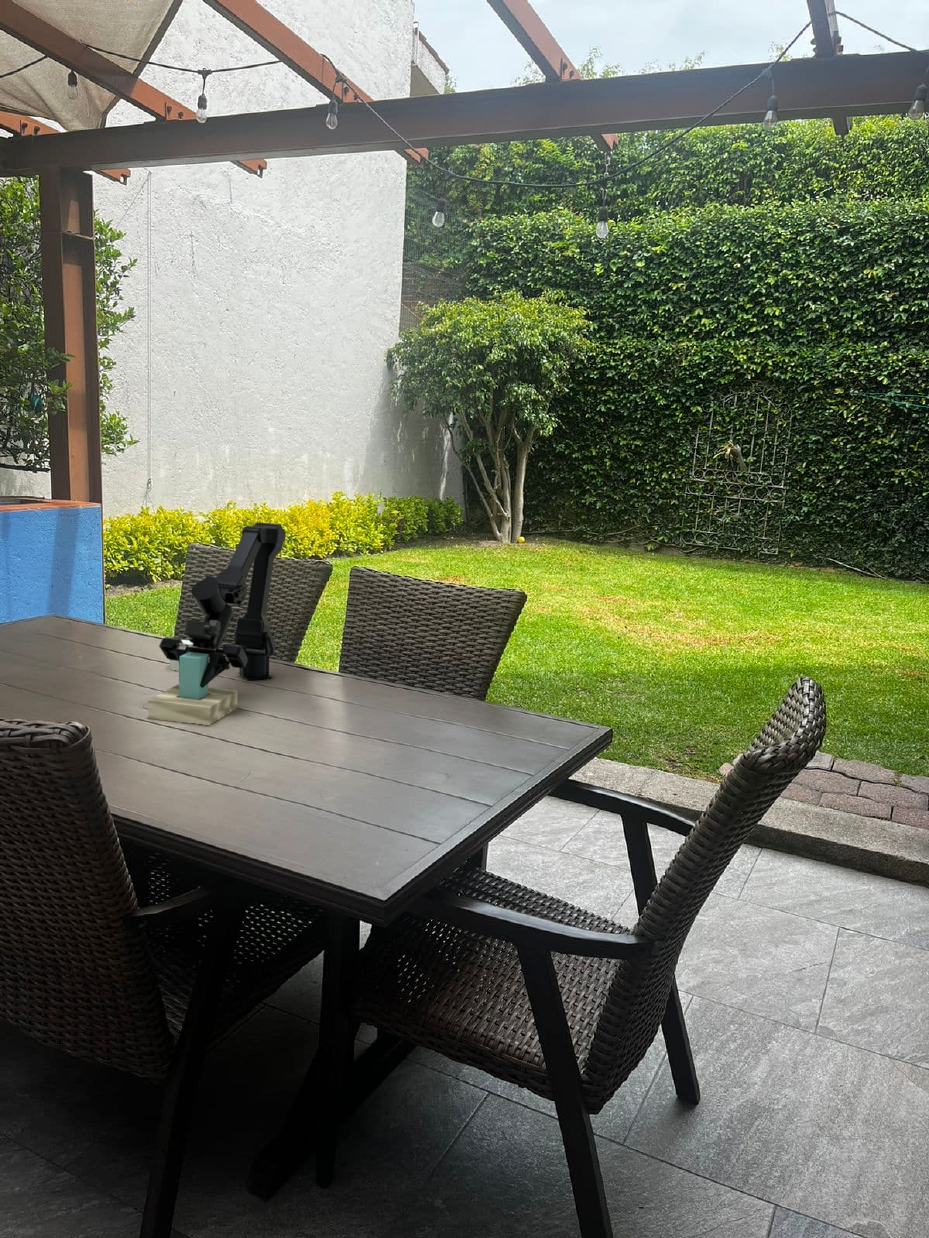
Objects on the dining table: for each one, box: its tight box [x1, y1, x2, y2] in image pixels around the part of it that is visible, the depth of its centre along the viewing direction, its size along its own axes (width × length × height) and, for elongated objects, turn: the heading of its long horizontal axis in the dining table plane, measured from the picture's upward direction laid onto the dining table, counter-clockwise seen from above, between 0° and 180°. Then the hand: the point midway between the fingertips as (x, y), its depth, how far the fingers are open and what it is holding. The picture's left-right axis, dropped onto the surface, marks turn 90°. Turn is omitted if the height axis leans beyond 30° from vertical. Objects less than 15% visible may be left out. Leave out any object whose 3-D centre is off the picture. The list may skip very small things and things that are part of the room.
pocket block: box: [147, 684, 238, 726], centre depth 200 cm, size 14×14×4 cm
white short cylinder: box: [169, 639, 193, 672], centre depth 235 cm, size 7×7×7 cm
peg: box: [178, 652, 209, 700], centre depth 199 cm, size 4×4×13 cm
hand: (190, 685), depth 198 cm, fingers closed on peg, 4 cm apart
